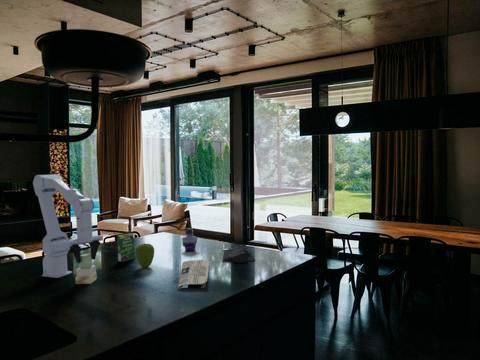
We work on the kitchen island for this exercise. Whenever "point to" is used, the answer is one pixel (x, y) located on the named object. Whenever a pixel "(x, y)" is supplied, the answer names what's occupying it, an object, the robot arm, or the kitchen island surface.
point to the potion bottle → (189, 241)
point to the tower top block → (86, 271)
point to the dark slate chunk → (237, 255)
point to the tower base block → (86, 279)
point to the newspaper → (194, 273)
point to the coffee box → (125, 247)
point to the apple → (144, 255)
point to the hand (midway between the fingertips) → (86, 260)
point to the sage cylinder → (85, 261)
